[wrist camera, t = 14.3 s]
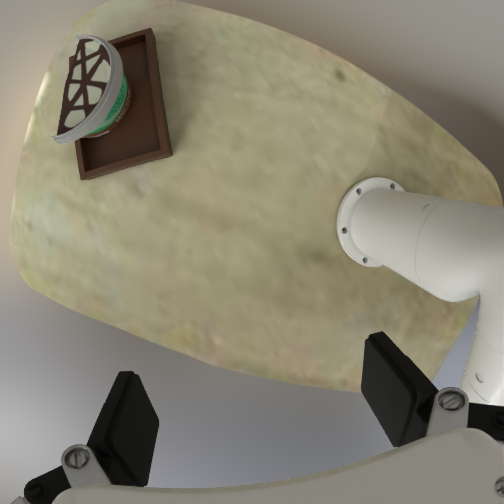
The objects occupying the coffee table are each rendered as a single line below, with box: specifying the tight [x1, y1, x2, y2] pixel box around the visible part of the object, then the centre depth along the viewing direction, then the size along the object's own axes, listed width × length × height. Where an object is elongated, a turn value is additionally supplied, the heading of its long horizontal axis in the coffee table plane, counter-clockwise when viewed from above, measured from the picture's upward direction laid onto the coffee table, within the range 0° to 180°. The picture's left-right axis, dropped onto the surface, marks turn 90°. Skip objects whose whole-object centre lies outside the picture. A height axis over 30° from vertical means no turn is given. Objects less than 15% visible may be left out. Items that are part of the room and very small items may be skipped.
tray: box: [69, 28, 173, 180], centre depth 29 cm, size 12×18×3 cm, turn 10°
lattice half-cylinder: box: [51, 35, 133, 144], centre depth 25 cm, size 12×6×10 cm, turn 172°
